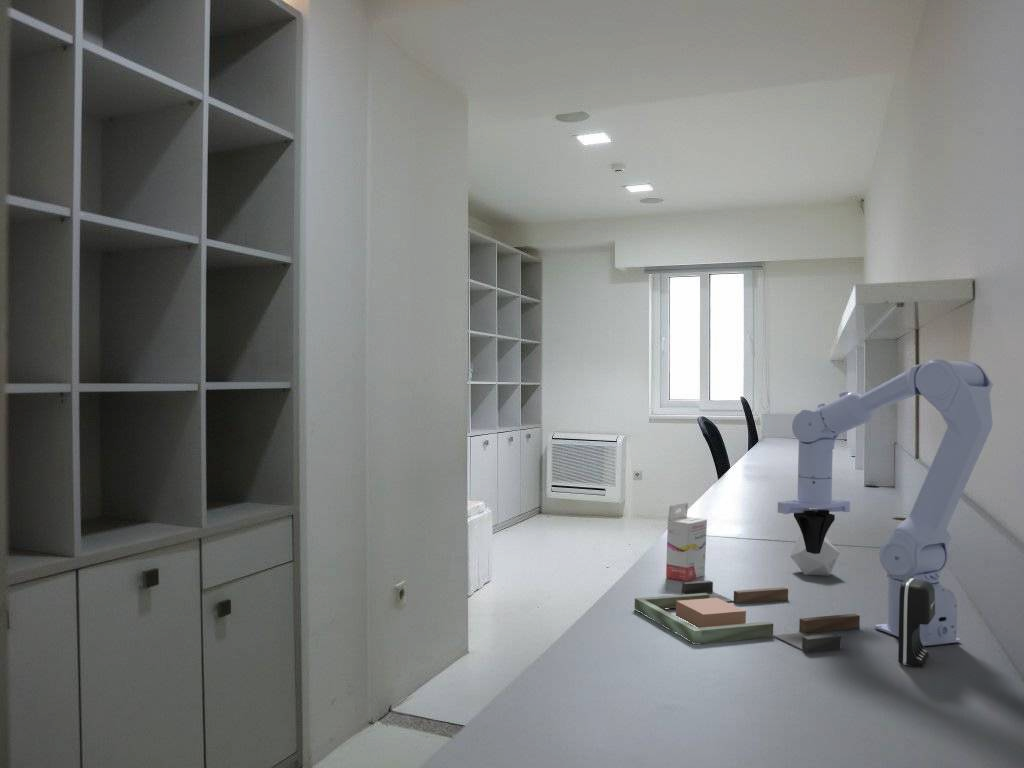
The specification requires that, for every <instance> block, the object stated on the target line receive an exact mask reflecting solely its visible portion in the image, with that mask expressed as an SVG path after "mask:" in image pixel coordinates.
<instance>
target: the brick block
mask: <svg viewBox="0 0 1024 768" xmlns="http://www.w3.org/2000/svg"><path fill="white" fill-rule="evenodd" d="M675 616H678V617H680V618H682V619H684V620H686V621H688V622H689V623H691V624H693V625H695V626H696V627H698V628H702V627H713V626H724V625H735V624H746V621H747V610H745V609H742V608H740V607H738V606H737V605H733V604H731V603H730V602H725V601H723V600H721V599H718V598H706V599H693V600H680V601H676V609H675ZM693 625H692V626H693Z"/></svg>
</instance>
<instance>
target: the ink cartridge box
mask: <svg viewBox="0 0 1024 768" xmlns="http://www.w3.org/2000/svg"><path fill="white" fill-rule="evenodd" d="M688 507H689V503H688V502H684V503H683V502H682V503H677V504H673V505H670V506H669V510H668V518H667V533H666V534H667V535H666V536H667V537H666V566H665V569H666V571H665V578H667V579H673V580H677V581H682V582H691V581H692V580H695V579H697V578H700V577H704V576H705V575H706V553H707V550H706V548H707V527H708V526H707V524H708V519H707V518H701V517H692V516H688V509H689V508H688ZM677 510H680V511H679V512H676V511H677Z"/></svg>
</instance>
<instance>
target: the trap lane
mask: <svg viewBox="0 0 1024 768" xmlns="http://www.w3.org/2000/svg"><path fill="white" fill-rule="evenodd" d="M683 593H684V594H683ZM706 598H718V599H721V600H723V601H725V602H727V603H734V604H738V605H739V604H750V603H751V604H753V603H763V602H764V603H765V602H775V601H788V600H789V588H787V587H784V586H783V587H768V588H756V589H740V590H733V599H730V598H728V597H726V596H723V595H722V594H719V593H716V592H715V591H714V581H711V580H698V581H687V582H686V581H682V582H681V594H674V595H673V594H672V595H671V594H670V595H660V596H648V597H635V598H634V609H636V610H638V611H640V612H642V613H643V614H645V615H647V616H648V617H650V618H652V619H654V620H655V621H657V622H659V623H660V624H662V625H664V626H665V627H667V628H669V629H670V630H672V631H674V632H677V633H678V634H680V635H682V636H683V637H685V638H687V639H688V640H690V641H691V642H693V643H704V644H711V643H710V642H714V643H722V642H723V641H724V642H732V641H733V642H734V641H742V640H744V641H745V640H753V639H762V638H763V639H764V638H775V639H777V640H779V641H782V642H784V643H785V644H788V645H789V646H792V647H794V648H796V649H798V650H800V651H803V652H804V653H806V654H813V653H820V652H821V653H822V652H830V651H831V652H832V651H840V650H841V647H842V635H839V634H837V633H828V634H819V635H818V634H817V635H811V634H813V633H822V632H823V633H824V632H832V631H841V630H854V629H860V625H861V624H860V622H861V620H860V618H861V616H860V615H858V614H856V613H845V614H835V615H825V616H823V615H822V616H813V617H803V618H802V617H801V618H799V624H798V625H799V627H798V628H799V632H795V633H782V634H774V623H772V622H770V621H759V622H747V623H746V624H735V625H724V626H713V627H702V628H696V627H694V626H693V625H691V624H689V623H687V622H685V621H683V620H681V619H679V618H678V617H676V615H674V614H672V613H671V612H668V611H666V610H663V609H665V608H676V601H680V600H693V599H706ZM636 610H635V611H636ZM643 614H642V615H643ZM648 617H647V618H648ZM655 621H654V622H655ZM660 624H659V625H660ZM662 625H661V626H662ZM665 627H664V628H665ZM667 628H666V629H667ZM670 630H669V631H670ZM672 631H671V632H672ZM674 632H673V633H674ZM691 642H690V643H691ZM693 643H692V644H693Z"/></svg>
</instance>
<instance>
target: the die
mask: <svg viewBox="0 0 1024 768" xmlns="http://www.w3.org/2000/svg"><path fill="white" fill-rule="evenodd" d="M839 556H840V551H839V550H838V549H837V548H836V547H835V546H834V545H833V544H832V543H831V541H830V539H828V537H827V535H826V536H825V538H824V541H823V544H822V548H821V551H820V554H813V553H809V552H807V551H806V547H805V542H804V539H803V535H802V533H800V534H799V535H798V539H797V540H796V542H795V545H794V547H793V549H792V552H791V554H790V558H791V559H792V560H793V562H794V563H795V565H797V567H798V568H799V569H800V571H801V572H802V573H803V575H805V576H827V577H828V576H831V574H832V572H833V569H834V567H835V565H836V563H837V561H838V559H839Z"/></svg>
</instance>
